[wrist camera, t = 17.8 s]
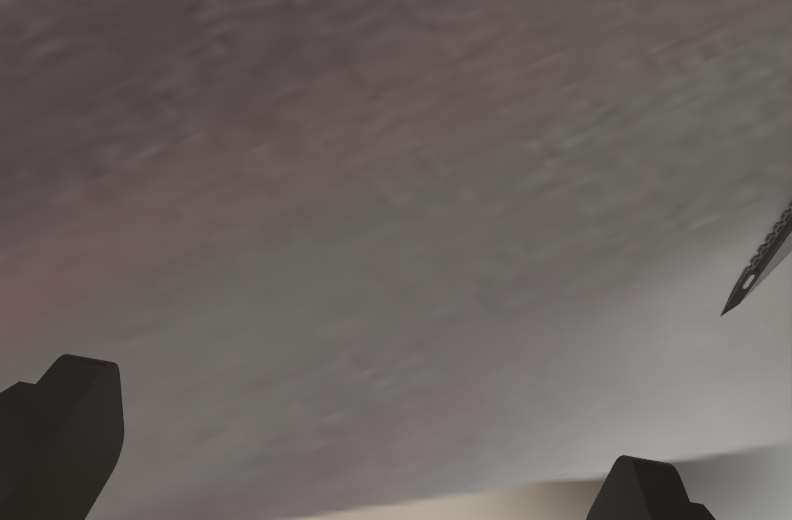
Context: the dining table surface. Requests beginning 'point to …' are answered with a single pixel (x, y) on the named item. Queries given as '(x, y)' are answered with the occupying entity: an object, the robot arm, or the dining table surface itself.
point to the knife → (764, 259)
